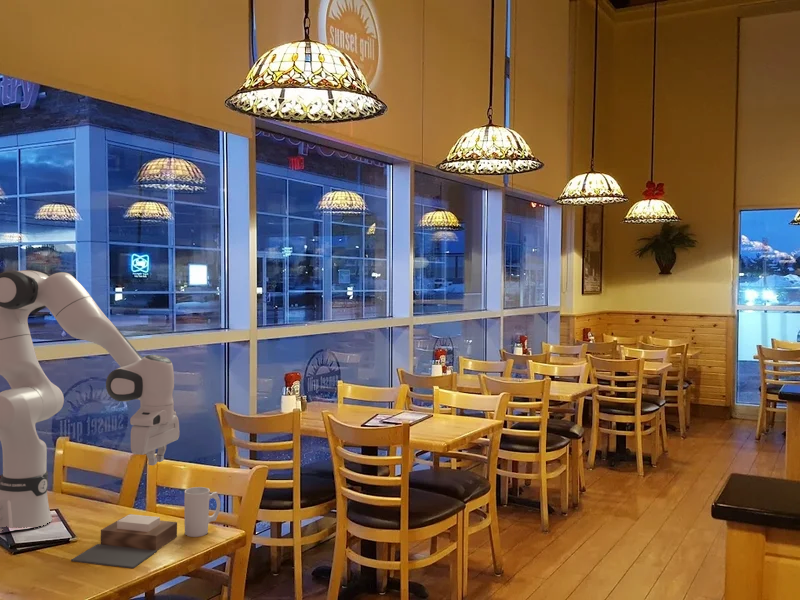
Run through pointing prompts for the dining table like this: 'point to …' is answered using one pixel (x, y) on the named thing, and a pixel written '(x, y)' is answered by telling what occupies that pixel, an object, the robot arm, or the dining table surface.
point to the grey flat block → (138, 523)
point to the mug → (199, 510)
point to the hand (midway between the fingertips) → (156, 463)
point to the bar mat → (114, 556)
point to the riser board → (139, 536)
